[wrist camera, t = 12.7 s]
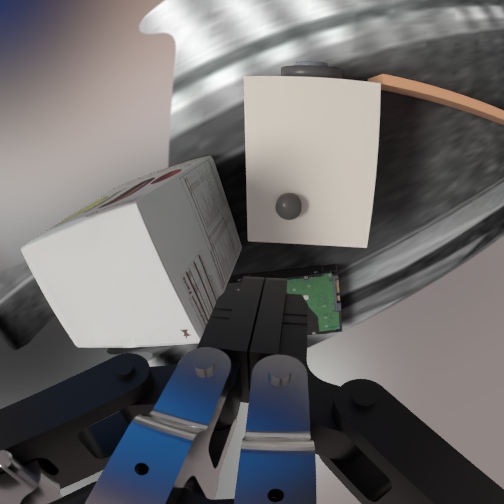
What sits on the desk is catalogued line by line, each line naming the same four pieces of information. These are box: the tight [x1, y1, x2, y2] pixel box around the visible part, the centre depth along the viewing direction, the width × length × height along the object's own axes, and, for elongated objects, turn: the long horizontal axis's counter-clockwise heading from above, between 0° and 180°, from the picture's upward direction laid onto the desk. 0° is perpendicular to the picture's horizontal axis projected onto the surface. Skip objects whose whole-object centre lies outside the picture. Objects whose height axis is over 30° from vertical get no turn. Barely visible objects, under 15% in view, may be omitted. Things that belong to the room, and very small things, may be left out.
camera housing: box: [244, 61, 381, 248], centre depth 29 cm, size 18×12×9 cm
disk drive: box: [227, 264, 342, 335], centre depth 43 cm, size 10×3×15 cm
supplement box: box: [21, 156, 242, 348], centre depth 33 cm, size 17×13×18 cm
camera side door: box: [368, 74, 504, 125], centre depth 24 cm, size 22×2×7 cm, turn 88°
